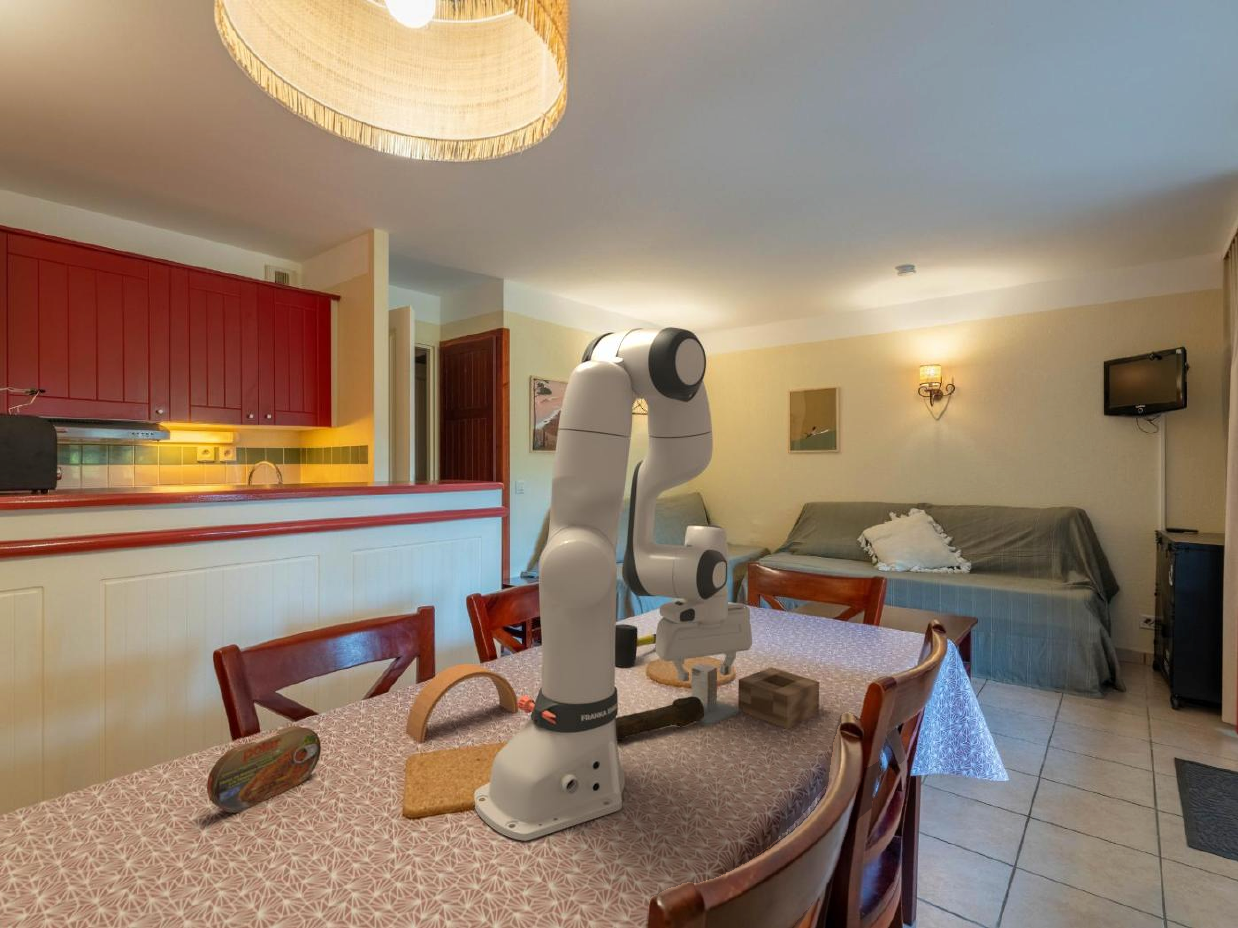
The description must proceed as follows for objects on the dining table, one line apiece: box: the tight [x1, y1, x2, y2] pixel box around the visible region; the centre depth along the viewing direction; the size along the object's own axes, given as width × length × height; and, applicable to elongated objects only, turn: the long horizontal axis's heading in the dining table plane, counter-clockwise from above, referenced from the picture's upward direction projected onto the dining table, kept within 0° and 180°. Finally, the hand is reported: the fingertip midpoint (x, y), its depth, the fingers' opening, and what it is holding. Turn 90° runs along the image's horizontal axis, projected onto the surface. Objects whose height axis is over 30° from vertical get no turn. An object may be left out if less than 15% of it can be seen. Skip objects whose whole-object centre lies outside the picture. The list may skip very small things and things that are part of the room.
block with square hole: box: [737, 666, 820, 730], centre depth 117 cm, size 11×11×6 cm
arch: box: [405, 663, 519, 744], centre depth 111 cm, size 6×20×10 cm, turn 132°
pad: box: [695, 700, 742, 728], centre depth 117 cm, size 10×10×1 cm
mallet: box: [615, 623, 656, 668], centre depth 153 cm, size 29×6×10 cm, turn 145°
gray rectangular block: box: [690, 663, 718, 714], centre depth 117 cm, size 4×4×8 cm
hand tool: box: [615, 696, 704, 742], centre depth 108 cm, size 19×4×5 cm, turn 112°
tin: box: [206, 725, 322, 814], centre depth 87 cm, size 15×3×8 cm, turn 148°
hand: (704, 677), depth 117 cm, fingers open, 8 cm apart
